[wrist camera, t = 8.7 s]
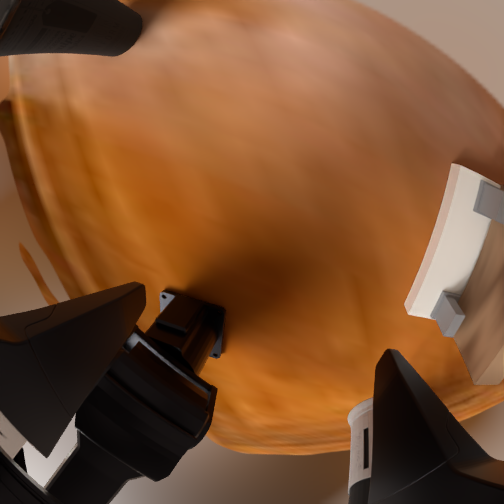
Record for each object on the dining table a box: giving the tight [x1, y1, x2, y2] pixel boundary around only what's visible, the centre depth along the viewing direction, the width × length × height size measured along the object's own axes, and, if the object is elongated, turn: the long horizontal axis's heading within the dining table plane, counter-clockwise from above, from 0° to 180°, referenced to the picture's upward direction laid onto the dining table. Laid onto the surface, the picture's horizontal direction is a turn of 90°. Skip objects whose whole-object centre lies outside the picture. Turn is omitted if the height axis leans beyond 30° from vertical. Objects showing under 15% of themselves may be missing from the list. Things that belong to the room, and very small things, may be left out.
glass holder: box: [348, 397, 373, 504], centre depth 18 cm, size 9×14×15 cm, turn 27°
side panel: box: [404, 163, 504, 337], centre depth 15 cm, size 12×11×4 cm
